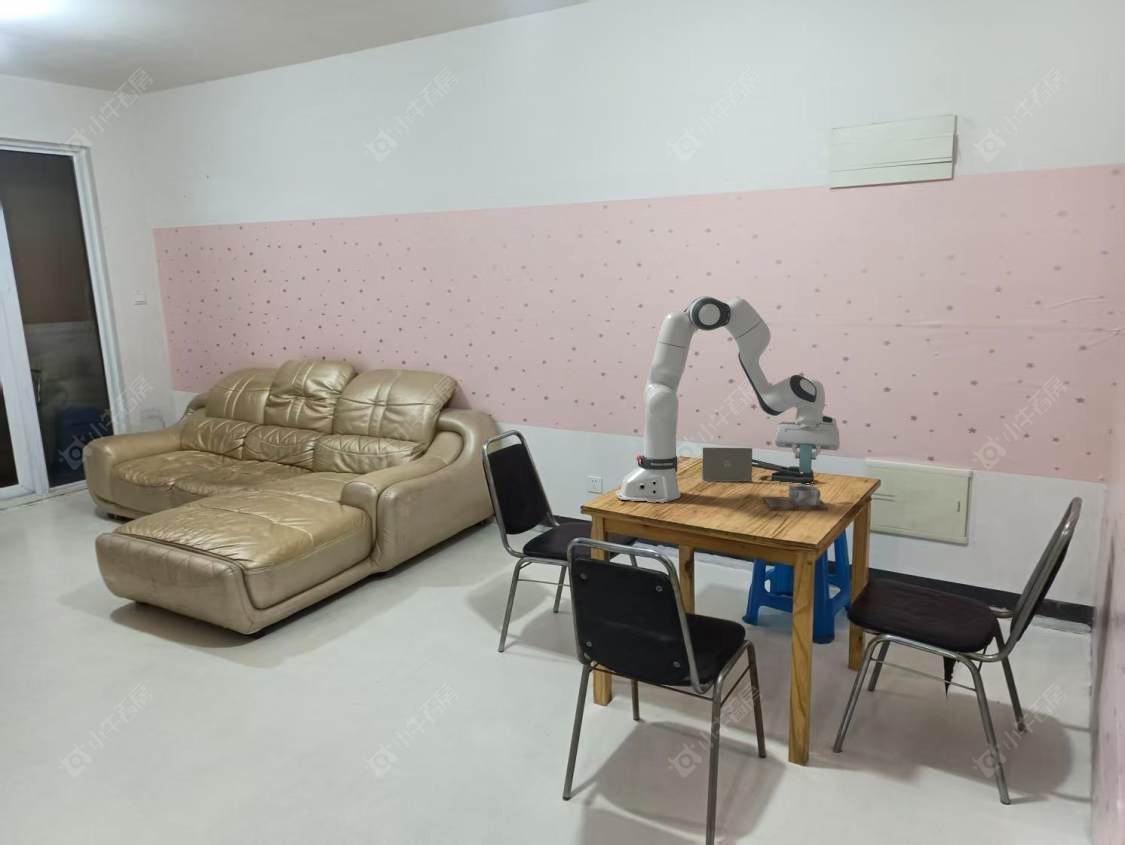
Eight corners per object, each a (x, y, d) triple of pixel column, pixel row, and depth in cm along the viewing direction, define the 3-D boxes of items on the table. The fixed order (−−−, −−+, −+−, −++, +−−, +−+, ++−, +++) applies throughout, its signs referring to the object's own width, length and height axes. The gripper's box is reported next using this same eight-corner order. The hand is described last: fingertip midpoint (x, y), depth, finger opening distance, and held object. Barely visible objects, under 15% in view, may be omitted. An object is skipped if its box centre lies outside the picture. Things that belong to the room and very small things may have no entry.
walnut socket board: (771, 510, 245) (771, 493, 244) (762, 500, 257) (763, 484, 256) (827, 510, 245) (828, 493, 244) (816, 500, 256) (817, 483, 255)
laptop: (748, 474, 294) (749, 441, 292) (751, 482, 282) (752, 448, 280) (701, 473, 297) (701, 441, 295) (702, 481, 285) (702, 447, 282)
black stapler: (747, 457, 293) (815, 462, 282) (747, 474, 294) (814, 480, 283) (742, 462, 285) (812, 467, 274) (742, 479, 286) (811, 485, 275)
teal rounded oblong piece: (800, 472, 247) (801, 447, 246) (797, 470, 251) (798, 444, 249) (812, 472, 247) (813, 447, 245) (809, 470, 251) (810, 444, 249)
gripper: (776, 416, 256) (771, 450, 249) (841, 419, 249) (838, 454, 241) (777, 427, 261) (773, 461, 254) (841, 430, 253) (838, 465, 246)
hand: (805, 458), depth 247 cm, fingers closed on teal rounded oblong piece, 4 cm apart
